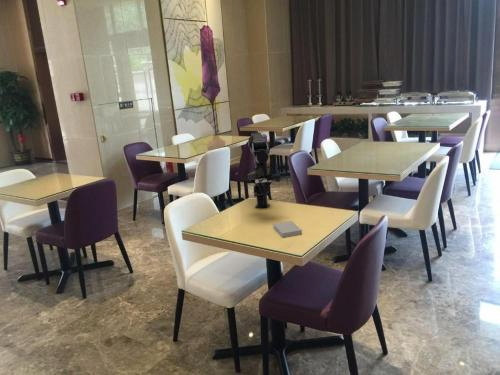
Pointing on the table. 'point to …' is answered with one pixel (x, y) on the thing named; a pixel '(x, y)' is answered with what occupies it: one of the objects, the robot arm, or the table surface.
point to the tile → (287, 229)
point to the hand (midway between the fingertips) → (264, 196)
